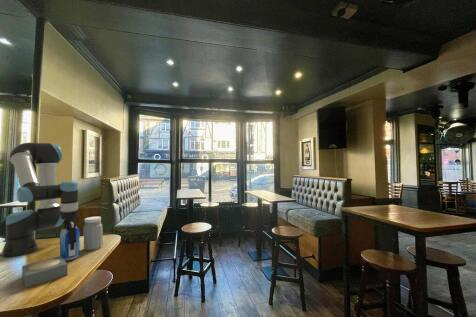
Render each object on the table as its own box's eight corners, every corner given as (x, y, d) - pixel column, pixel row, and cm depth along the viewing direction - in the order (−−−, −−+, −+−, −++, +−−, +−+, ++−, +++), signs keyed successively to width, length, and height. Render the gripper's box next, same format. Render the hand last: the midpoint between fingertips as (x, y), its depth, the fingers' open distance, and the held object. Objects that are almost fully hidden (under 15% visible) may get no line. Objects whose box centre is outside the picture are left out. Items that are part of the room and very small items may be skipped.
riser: (22, 277, 103) (22, 265, 103) (61, 266, 113) (60, 255, 113) (25, 288, 93) (25, 275, 93) (67, 274, 103) (67, 263, 104)
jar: (81, 252, 130) (81, 220, 130) (85, 246, 139) (85, 217, 139) (101, 249, 134) (101, 218, 134) (104, 243, 143) (103, 215, 143)
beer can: (69, 261, 116) (68, 230, 116) (55, 260, 118) (55, 229, 118) (83, 254, 125) (83, 225, 125) (70, 253, 126) (70, 225, 126)
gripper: (56, 209, 125) (57, 250, 125) (65, 214, 111) (65, 261, 111) (73, 206, 131) (74, 246, 131) (83, 212, 117) (83, 256, 117)
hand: (70, 253), depth 121 cm, fingers closed on beer can, 8 cm apart
